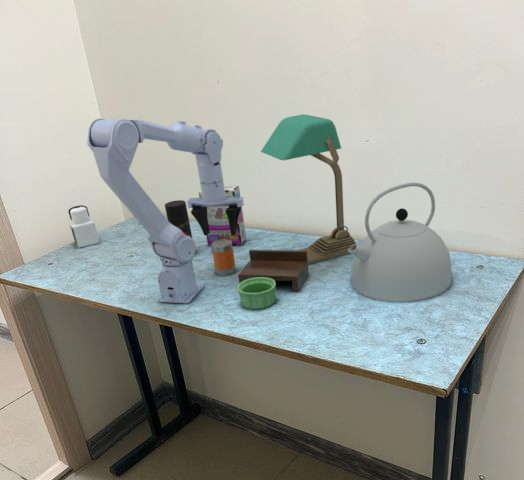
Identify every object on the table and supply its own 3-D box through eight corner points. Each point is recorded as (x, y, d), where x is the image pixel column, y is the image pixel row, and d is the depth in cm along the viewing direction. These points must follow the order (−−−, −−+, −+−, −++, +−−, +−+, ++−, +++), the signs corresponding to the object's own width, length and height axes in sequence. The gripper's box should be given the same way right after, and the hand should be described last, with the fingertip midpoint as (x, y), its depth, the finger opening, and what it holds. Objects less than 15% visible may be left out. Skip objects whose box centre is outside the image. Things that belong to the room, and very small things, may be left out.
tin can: (231, 276, 142) (227, 247, 138) (212, 275, 144) (207, 246, 140) (239, 267, 146) (234, 239, 142) (220, 267, 148) (215, 239, 144)
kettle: (376, 314, 116) (376, 210, 104) (326, 278, 134) (321, 186, 122) (472, 284, 122) (482, 183, 111) (412, 254, 141) (415, 165, 129)
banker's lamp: (365, 255, 144) (362, 113, 126) (293, 274, 138) (280, 129, 120) (336, 238, 157) (330, 108, 139) (270, 255, 151) (255, 121, 133)
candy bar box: (247, 239, 165) (239, 185, 156) (241, 245, 161) (234, 190, 152) (213, 239, 168) (204, 186, 160) (207, 245, 164) (197, 191, 156)
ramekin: (240, 313, 123) (237, 295, 121) (239, 296, 131) (236, 279, 129) (279, 307, 123) (277, 290, 121) (275, 291, 131) (273, 274, 129)
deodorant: (196, 249, 163) (187, 199, 155) (192, 256, 158) (182, 205, 150) (177, 250, 164) (167, 201, 156) (173, 258, 158) (162, 207, 151)
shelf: (298, 291, 129) (296, 266, 126) (240, 289, 134) (236, 265, 131) (308, 274, 137) (306, 250, 134) (253, 273, 142) (250, 249, 139)
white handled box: (75, 242, 182) (64, 207, 176) (96, 237, 184) (86, 202, 178) (78, 248, 176) (67, 212, 170) (100, 243, 178) (89, 207, 172)
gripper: (244, 175, 134) (251, 228, 141) (191, 177, 138) (201, 228, 145) (234, 183, 128) (242, 238, 135) (179, 185, 133) (190, 238, 140)
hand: (220, 234), depth 140 cm, fingers open, 7 cm apart
